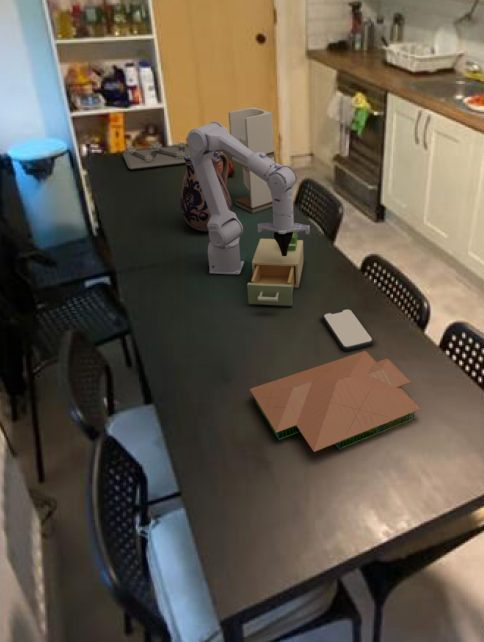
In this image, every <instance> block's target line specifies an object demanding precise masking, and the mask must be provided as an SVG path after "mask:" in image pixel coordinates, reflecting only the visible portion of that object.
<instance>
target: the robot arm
mask: <svg viewBox="0 0 484 642" xmlns="http://www.w3.org/2000/svg"><path fill="white" fill-rule="evenodd" d="M185 143H186V144H187V147H188V148H189V150H190V159H191V162H192V164H193V167H194V170H195V173H196V175H197V178H198V181H199V184H200V187H201V189H202V192H203V195H204V198H205V200H206V203H207V206H208V209H209V212H210V214H211V217H210V219H209V222H208V224H207V227H208V230H209V231H208V238H209V243H208V246H207V257H208V266H209V267H208V268H209V270H208V271H209V272H208V273H209V274H211V275H214V274H216V275H234V276H235V275H237V276H238V275H240V274H241V273H242V270H243V267H244V265H245V261H244V260H241V249H240V240H241V236H242V235H243V233H244V227H243V224H242V223H241V221H240V220H239V218H238V217H237V214H236V213H235V212H234V211H232V210H231V211H229V210H228V207H227V204H226V201H225V198H224V195H223V192H222V189H221V186H220V183H219V181H218V178H217V175H216V172H215V169H214V166H213V163H212V160H211V158H212V156H213V154H214V153H216V151H222V150H223V151H225V152H226V153H227V154H230V155H231V156H232V155H233V156H235V157H237V158H238V159H240V160H242V161H244V162H245V163H247V166H248V169H249V170H250V171H251V172H253V173H254V174H255V175H257V176H258V177H260V178H261V179H263V180H264V181H266V182H267V185H268V187H269V189H270V190H271V196H272V204H273V206H272V222H262V223H261V222H259V223H257V233H262V232H266V233H273V239H275V240H276V242H277V244H278V245H279V248H280V250H281V254H282V256H287V251H288V246H289V244H290V241H291V239H292V237H293V233H297V234H305V235H310V232H311V231H310V227H311V226H310V224H302V223H297V222H295V219H294V218H295V217H294V187H293V186H295V185H296V183H297V180H298V177H297V173H296V172H295V170H294V169H293V168H292V167H291V166H290V165H282V164H280V163H278V162H275V160H274V161H273V160H271V159H270V158H268V157H267V156H266V154H265V153H264V152H263V153H261V152H256V153H253V152H252V151H251V150H250V149H248V148H247V147H246V146H245V145H243V144H242V143H241V142H239V141H238V140H237V139H236V138H234V137H233V136H232V135H231V134H230V131H229V130H228V127H226V126H224V125H222V124H221V123H220V122H219V121H211V122H209V123H208V124H205V125H203V126H200V127H197V128H193V129H191V130H189V132H188V134H187V136H186V138H185Z"/></svg>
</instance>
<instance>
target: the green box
mask: <svg viewBox="0 0 484 642" xmlns="http://www.w3.org/2000/svg"><path fill="white" fill-rule="evenodd" d="M298 237H299V235H298V233H293V237H292V239H291V241H290V244H289V246H288V250H292V251H296V246H297V240H298Z"/></svg>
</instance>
